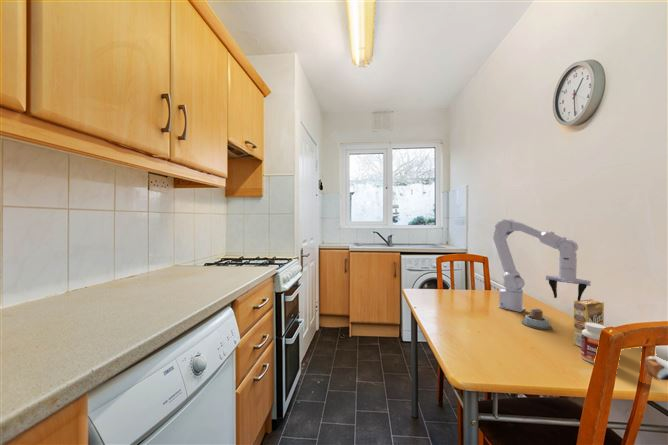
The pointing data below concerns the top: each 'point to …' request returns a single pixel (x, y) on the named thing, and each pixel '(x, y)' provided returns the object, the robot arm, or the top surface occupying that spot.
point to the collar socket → (537, 323)
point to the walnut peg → (536, 314)
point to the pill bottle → (590, 341)
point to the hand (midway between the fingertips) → (566, 299)
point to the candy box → (586, 316)
